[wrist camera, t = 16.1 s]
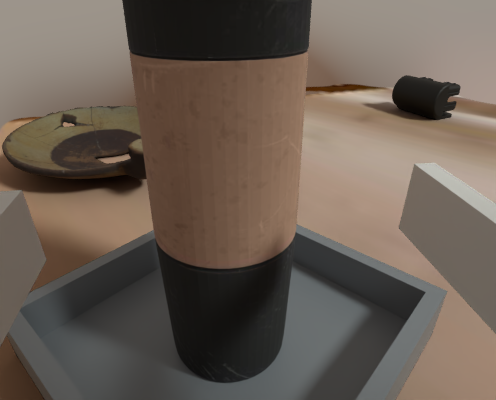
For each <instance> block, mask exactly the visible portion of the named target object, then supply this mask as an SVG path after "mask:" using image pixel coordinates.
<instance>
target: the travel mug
mask: <svg viewBox="0 0 496 400" xmlns="http://www.w3.org/2000/svg"><path fill="white" fill-rule="evenodd" d="M122 1H123V8H124V15H125V23H126V30H127V37H128V45H129V50H130V58H131V66H132V74H133V81H134V88H135V96H136V103H137V111H138V118H139V125H140V133H141V140H142V147H143V155H144V162H145V169H146V177H147V184H148V191H149V199H150V206H151V213H152V221H153V228H154V235H155V241H156V247H157V252H158V257H159V263H160V268H161V273H162V279H163V284H164V289H165V295H166V300H167V305H168V311H169V316H170V321H171V327H172V332H173V337H174V341H175V346H176V349H177V352H178V355H179V357H180V359H181V360H182V361H183V363H184V364H185V365H186V366H187V367H188V368H189V369H190V370H191V371H192V372H193V373H195V374H196V375H198V376H200V377H202V378H205V379H207V380H211V381H215V382H223V383H228V382H239V381H243V380H247V379H249V378H252V377H254V376H256V375H258V374H260V373H261V372H263V371H264V370H265V369H267V368H268V367H269V366H270V365H271V364H272V363H273V361H274V360H275V359H276V357H277V355H278V353H279V352H280V349H281V346H282V341H283V336H284V329H285V321H286V313H287V304H288V296H289V287H290V279H291V270H292V261H293V253H294V244H295V236H296V235H295V232H296V224H297V209H298V195H299V180H300V165H301V150H302V135H303V121H304V106H305V91H306V74H307V61H308V60H307V59H308V50H307V49H308V47H309V31H310V18H311V3H312V0H122Z"/></svg>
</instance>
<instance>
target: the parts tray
mask: <svg viewBox="0 0 496 400" xmlns="http://www.w3.org/2000/svg"><path fill="white" fill-rule="evenodd" d="M295 235H296V236H295V244H294V253H293V261H292V270H291V279H290V287H289V296H288V304H287V313H286V321H285V329H284V336H283V341H282V346H281V349H280V352H279V353H278V355H277V357H276V359H275V360H274V361H273V363H272V364H271V365H270V366H269V367H268V368H267V369H265V370H264V371H263V372H261V373H260V374H258V375H256V376H254V377H252V378H249V379H247V380H243V381H239V382H228V383H223V382H215V381H211V380H207V379H205V378H202V377H200V376H198V375H196V374H195V373H193V372H192V371H191V370H190V369H189V368H188V367H187V366H186V365H185V364H184V363H183V361H182V360H181V359H180V357H179V355H178V352H177V349H176V346H175V341H174V337H173V332H172V327H171V321H170V316H169V311H168V305H167V300H166V295H165V289H164V284H163V279H162V273H161V268H160V263H159V257H158V252H157V247H156V241H155V235H154V230H153V231H151V232H149V233H147V234H145V235H143V236H141V237H139V238H137V239H135V240H133V241H131V242H129V243H127V244H125V245H123V246H121V247H119V248H117V249H115V250H113V251H111V252H109V253H107V254H105V255H103V256H101V257H99V258H97V259H95V260H93V261H91V262H89V263H87V264H85V265H83V266H81V267H79V268H77V269H75V270H73V271H71V272H69V273H67V274H65V275H63V276H61V277H59V278H58V279H56V280H54V281H52V282H50V283H48V284H46V285H44V286H42V287H40V288H38V289H36V290H34V291H32V292H30V293H29V294H28V296H27V298H26V300H25V301H24V303H23V305H22V307H21V309H20V311H19V313H18V315H17V316H16V318H15V320H14V322H13V324H12V326H11V328H10V330H9V331H8V333H7V337H8V339H9V341H10V343H11V345H12V347H13V349H14V351H15V353H16V355H17V357H18V358H19V360H20V361H21V363H22V365H23V366H24V368H25V369H26V371H27V372H28V374H29V375H30V377H31V379H32V380H33V382H34V383H35V385H36V386H37V388H38V390H39V391H40V393H41V394H42V396H43V397H44V399H45V400H396V398H397V396H398V394H399V392H400V391H401V389H402V387H403V385H404V383H405V382H406V380H407V378H408V376H409V374H410V373H411V371H412V369H413V367H414V365H415V364H416V362H417V360H418V358H419V356H420V355H421V353H422V351H423V349H424V347H425V346H426V344H427V342H428V340H429V338H430V336H431V335H432V332H433V330H434V327H435V324H436V321H437V318H438V316H439V313H440V310H441V307H442V305H443V302H444V299H445V296H446V294H447V291H446V290H443V289H441V288H439V287H437V286H434V285H432V284H430V283H428V282H425V281H423V280H421V279H419V278H416V277H414V276H412V275H410V274H407V273H405V272H403V271H401V270H398V269H396V268H394V267H392V266H389V265H387V264H385V263H383V262H380V261H378V260H376V259H374V258H371V257H369V256H367V255H365V254H362V253H360V252H358V251H356V250H353V249H351V248H349V247H347V246H344V245H342V244H340V243H338V242H335V241H333V240H331V239H329V238H326V237H324V236H322V235H320V234H317V233H315V232H313V231H311V230H308V229H306V228H304V227H302V226H299V225H297V224H296V232H295Z"/></svg>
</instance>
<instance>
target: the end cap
mask: <svg viewBox="0 0 496 400" xmlns="http://www.w3.org/2000/svg"><path fill="white" fill-rule="evenodd" d="M459 91H460V86H459V85H458V84H456V83H449V82H444V83H441V82H437V81H433V79H431V78H426V77H422V78H417V77H412V76H404V77H402V78H401V79H399V80H398V82H397V83H396V85H395V86H394V89H393V93H392V99H393V102H394V103H395V104H396V105H397V107H398V108H399V109H402V110H406V111H409V112H412V113H416V114H419V115H422V116H426V117H429V118H432V119H436V120H440V119H445V118H450V117H451V115H452V114H451V113H447V112H445V111H450V110H454V108H455V105H456V101H453V102H447V100H448V98H449V97H450V96H455V95H458V94H459Z"/></svg>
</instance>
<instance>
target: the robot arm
mask: <svg viewBox="0 0 496 400" xmlns="http://www.w3.org/2000/svg"><path fill="white" fill-rule="evenodd" d="M399 229H400V230H401V231H402V232H403V233H404V234H405V236H406V237H407V238H408V239H409V240H410V241H411V242H412V243H413V244H414V245H415V246H416V248H417V249H418V250H419V251H420V252H421V253H422V254H423V255H424V256H425V257H426V258H427V259H428V261H429V262H430V263H431V264H432V265H433V266H434V267H435V268H436V269H437V270H438V271H439V273H440V274H441V275H442V276H443V277H444V278H445V279H446V280H447V281H448V282H449V283H450V285H451V286H452V287H453V288H454V289H455V290H456V291H457V292H458V293H459V294H460V295H461V297H462V298H463V299H464V300H465V301H466V302H467V303H468V304H469V305H470V306H471V307H472V308H473V310H474V311H475V312H476V313H477V314H478V315H479V316H480V317H481V318H482V319H483V320H484V322H485V323H486V324H487V325H488V326H489V327H490V328H491V329H492V330H493V331H494V332H495V334H496V204H495V203H494V202H492V201H491V200H489V199H488V198H486V197H485V196H483V195H482V194H480V193H479V192H477V191H476V190H474V189H473V188H471V187H470V186H468V185H467V184H465V183H464V182H462V181H461V180H459V179H458V178H456V177H455V176H453V175H452V174H450V173H449V172H447V171H446V170H444V169H443V168H441V167H440V166H438V165H437V164H435V163H422V164H414V168H413V172H412V176H411V180H410V184H409V188H408V192H407V196H406V200H405V205H404V209H403V213H402V217H401V221H400V225H399ZM45 262H46V257H45V254H44V251H43V248H42V245H41V243H40V240H39V237H38V234H37V231H36V228H35V226H34V223H33V220H32V217H31V214H30V211H29V209H28V206H27V203H26V200H25V197H24V194H23V192H22V190H16V191H1V192H0V346H1V345H2V343H3V341H4V339H5V337H6V335H7V333H8V331H9V330H10V328H11V326H12V324H13V322H14V320H15V318H16V316H17V315H18V313H19V311H20V309H21V307H22V305H23V303H24V301H25V300H26V298H27V296H28V294H29V292H30V290H31V288H32V286H33V285H34V283H35V281H36V279H37V277H38V275H39V273H40V271H41V270H42V268H43V266H44V264H45Z"/></svg>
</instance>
